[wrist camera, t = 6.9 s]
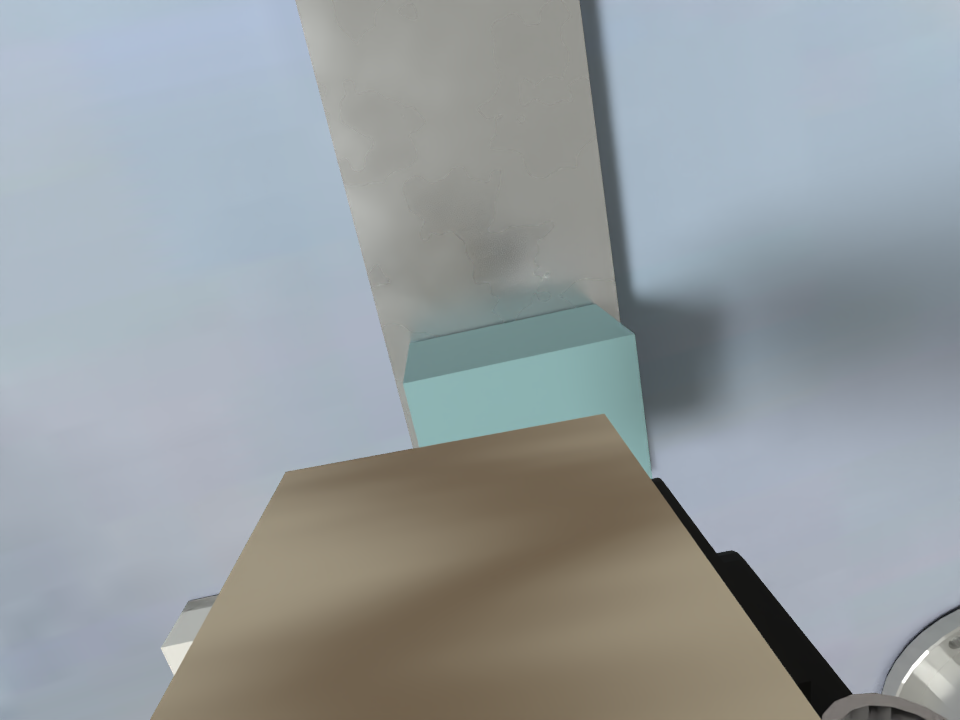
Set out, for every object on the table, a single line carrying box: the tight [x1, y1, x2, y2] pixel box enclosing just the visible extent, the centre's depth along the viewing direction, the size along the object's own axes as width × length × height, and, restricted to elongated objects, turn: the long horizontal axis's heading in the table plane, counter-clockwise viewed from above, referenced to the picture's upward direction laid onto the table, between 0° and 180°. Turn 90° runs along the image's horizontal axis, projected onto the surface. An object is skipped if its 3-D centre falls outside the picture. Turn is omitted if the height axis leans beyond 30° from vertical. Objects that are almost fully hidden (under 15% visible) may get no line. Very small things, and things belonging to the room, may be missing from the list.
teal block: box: [403, 304, 652, 479], centre depth 23 cm, size 8×6×5 cm
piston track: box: [295, 0, 620, 449], centre depth 22 cm, size 10×28×4 cm, turn 11°
